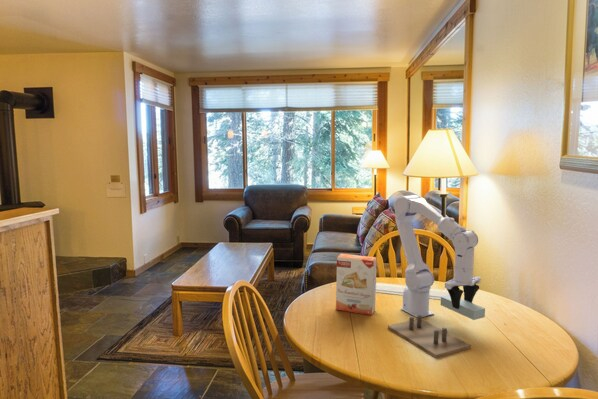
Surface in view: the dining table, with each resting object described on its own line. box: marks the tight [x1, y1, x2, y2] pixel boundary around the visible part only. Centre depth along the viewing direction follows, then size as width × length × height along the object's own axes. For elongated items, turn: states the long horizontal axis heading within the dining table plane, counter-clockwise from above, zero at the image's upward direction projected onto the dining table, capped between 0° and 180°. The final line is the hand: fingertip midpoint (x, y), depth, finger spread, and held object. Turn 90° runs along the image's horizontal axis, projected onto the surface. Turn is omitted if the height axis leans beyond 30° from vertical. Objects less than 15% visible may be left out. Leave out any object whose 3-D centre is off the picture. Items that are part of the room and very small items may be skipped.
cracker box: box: [335, 253, 378, 316], centre depth 150 cm, size 14×6×21 cm, turn 68°
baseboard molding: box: [376, 282, 449, 301], centre depth 170 cm, size 31×3×12 cm
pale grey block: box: [440, 295, 486, 321], centre depth 134 cm, size 14×5×3 cm, turn 26°
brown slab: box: [387, 315, 472, 359], centre depth 128 cm, size 22×14×5 cm, turn 26°
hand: (461, 306), depth 134 cm, fingers closed on pale grey block, 5 cm apart
